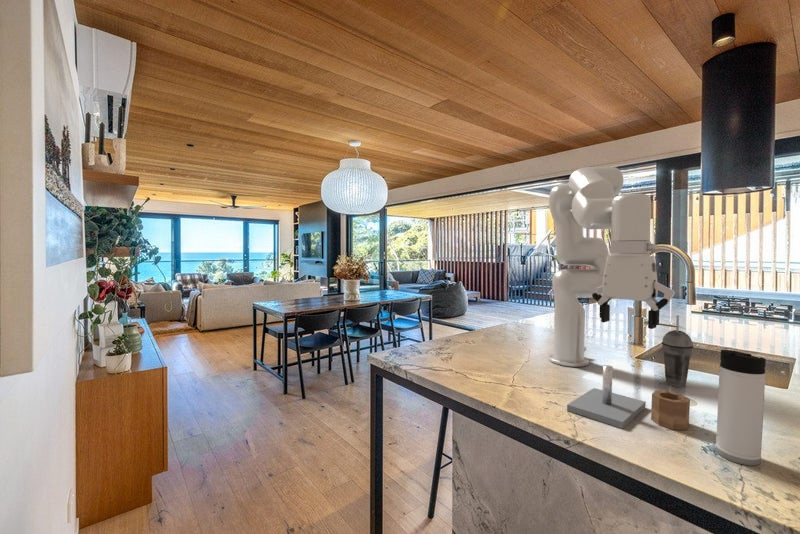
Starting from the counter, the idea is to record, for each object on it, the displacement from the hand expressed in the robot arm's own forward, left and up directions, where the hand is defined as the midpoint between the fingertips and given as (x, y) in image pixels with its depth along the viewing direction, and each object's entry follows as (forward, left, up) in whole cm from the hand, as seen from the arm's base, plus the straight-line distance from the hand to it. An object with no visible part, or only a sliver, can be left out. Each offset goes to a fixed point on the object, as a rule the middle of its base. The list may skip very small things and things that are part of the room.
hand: (627, 324), depth 86 cm
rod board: (-1, -4, -22) cm, 22 cm away
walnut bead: (-4, +8, -21) cm, 23 cm away
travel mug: (+3, +20, -22) cm, 29 cm away
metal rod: (-1, -4, -20) cm, 20 cm away
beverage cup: (-33, +3, -22) cm, 40 cm away
